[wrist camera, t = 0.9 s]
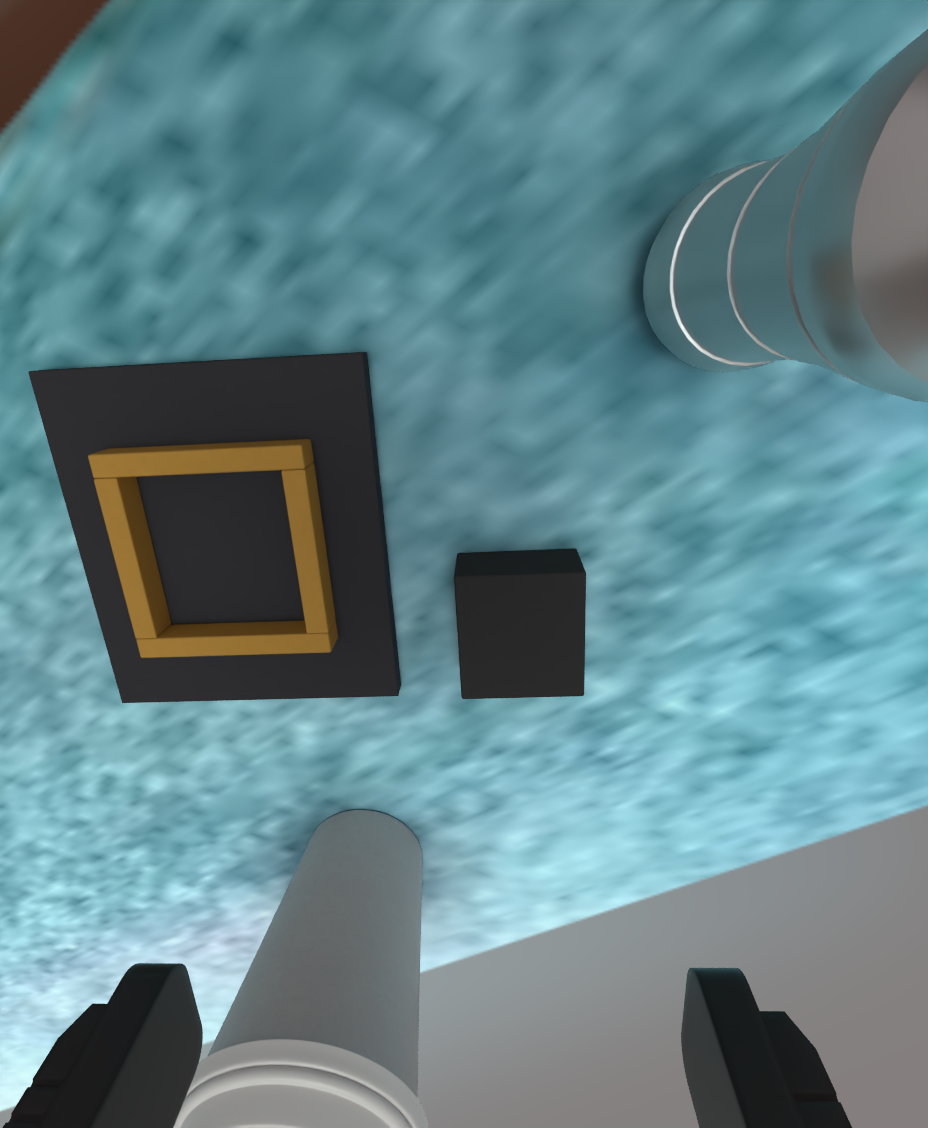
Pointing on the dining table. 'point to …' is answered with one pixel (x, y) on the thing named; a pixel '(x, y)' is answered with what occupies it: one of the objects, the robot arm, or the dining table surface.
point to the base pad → (229, 524)
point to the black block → (521, 623)
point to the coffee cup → (327, 994)
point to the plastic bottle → (811, 248)
